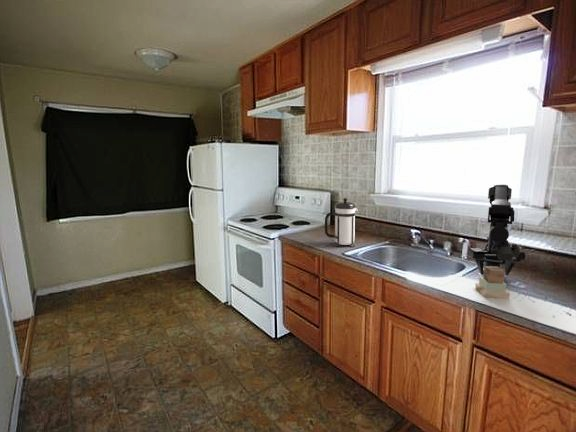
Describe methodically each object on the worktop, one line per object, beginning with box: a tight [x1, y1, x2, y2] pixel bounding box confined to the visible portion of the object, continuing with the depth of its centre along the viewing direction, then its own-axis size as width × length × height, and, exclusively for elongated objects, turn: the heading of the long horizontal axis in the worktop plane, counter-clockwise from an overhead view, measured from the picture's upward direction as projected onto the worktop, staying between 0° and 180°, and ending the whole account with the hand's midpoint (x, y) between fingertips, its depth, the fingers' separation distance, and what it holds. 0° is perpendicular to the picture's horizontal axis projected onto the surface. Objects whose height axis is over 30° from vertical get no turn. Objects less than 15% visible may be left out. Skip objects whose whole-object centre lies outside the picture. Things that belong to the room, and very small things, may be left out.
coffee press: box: [324, 197, 359, 248], centre depth 198 cm, size 17×16×30 cm
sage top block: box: [478, 276, 507, 292], centre depth 126 cm, size 7×7×3 cm
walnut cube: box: [482, 265, 505, 283], centre depth 126 cm, size 5×5×5 cm
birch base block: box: [475, 282, 510, 300], centre depth 127 cm, size 8×8×3 cm
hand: (493, 274), depth 125 cm, fingers open, 9 cm apart
